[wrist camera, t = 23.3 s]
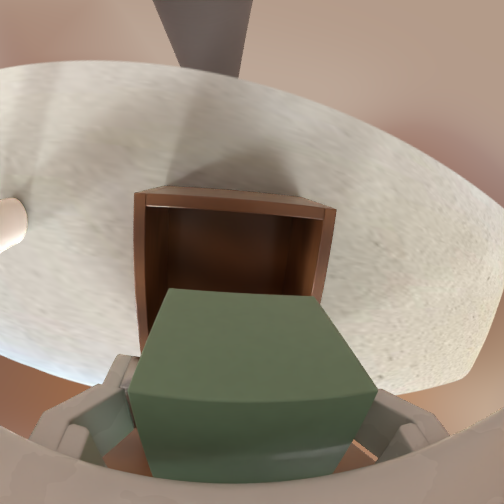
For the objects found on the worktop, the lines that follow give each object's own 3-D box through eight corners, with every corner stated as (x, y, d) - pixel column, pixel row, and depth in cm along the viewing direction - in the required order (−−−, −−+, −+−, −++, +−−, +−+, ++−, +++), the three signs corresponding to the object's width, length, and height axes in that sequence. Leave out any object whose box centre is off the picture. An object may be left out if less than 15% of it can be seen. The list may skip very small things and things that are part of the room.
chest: (163, 185, 24) (134, 192, 16) (300, 196, 26) (337, 209, 17) (163, 336, 28) (146, 391, 20) (279, 342, 30) (297, 397, 21)
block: (168, 287, 9) (125, 390, 4) (314, 295, 10) (379, 390, 5) (173, 394, 10) (159, 495, 6) (290, 397, 11) (319, 492, 6)
